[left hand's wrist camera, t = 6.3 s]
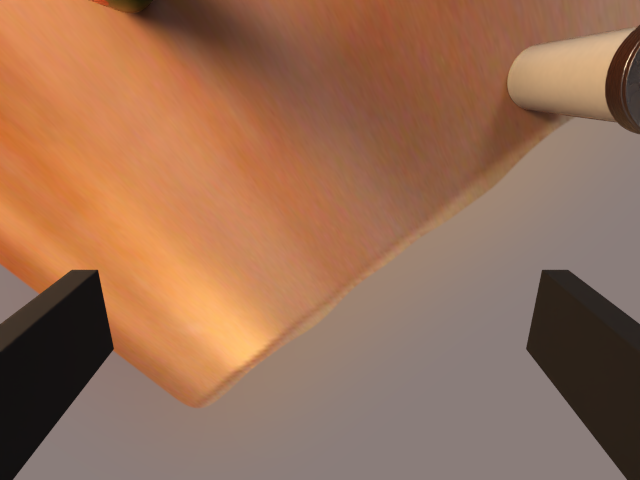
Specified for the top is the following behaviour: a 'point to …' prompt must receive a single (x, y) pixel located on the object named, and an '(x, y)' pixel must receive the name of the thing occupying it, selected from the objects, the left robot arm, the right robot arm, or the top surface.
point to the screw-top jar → (566, 75)
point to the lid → (625, 83)
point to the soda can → (125, 5)
